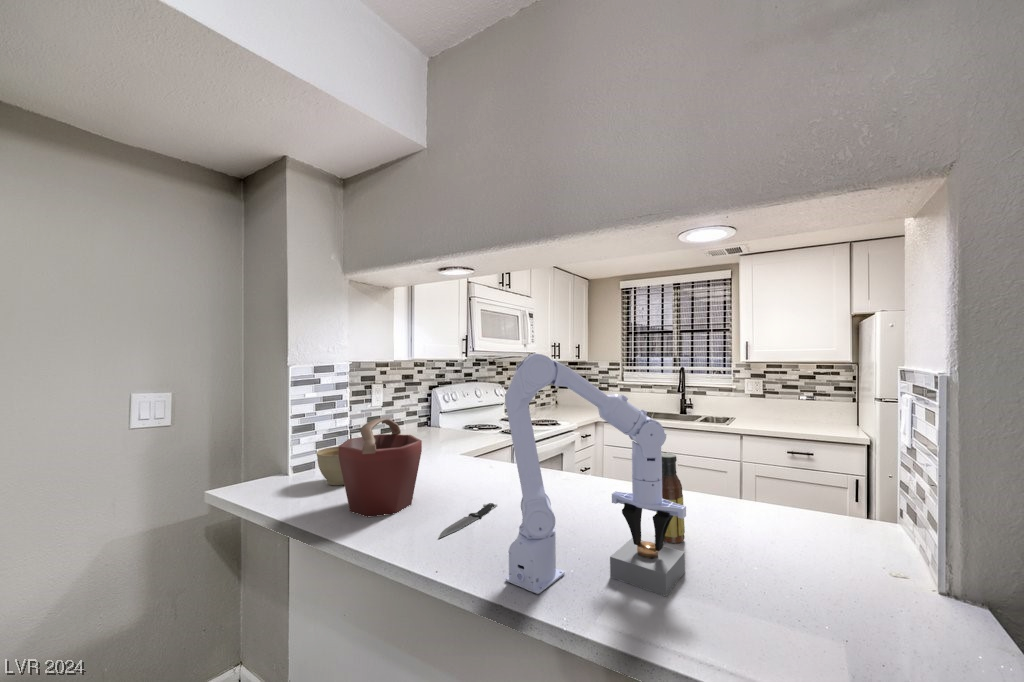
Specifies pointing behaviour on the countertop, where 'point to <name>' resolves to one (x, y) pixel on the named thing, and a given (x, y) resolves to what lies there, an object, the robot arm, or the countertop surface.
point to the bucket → (380, 469)
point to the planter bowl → (330, 465)
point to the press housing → (648, 568)
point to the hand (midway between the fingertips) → (647, 545)
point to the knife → (467, 519)
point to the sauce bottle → (672, 497)
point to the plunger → (647, 549)
